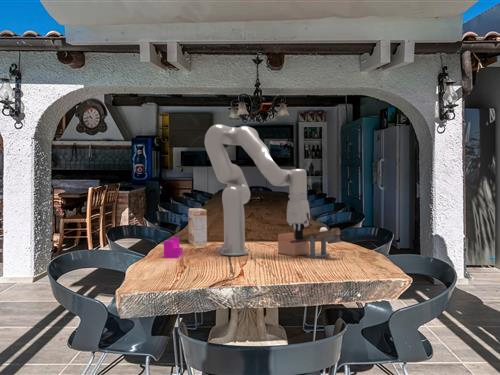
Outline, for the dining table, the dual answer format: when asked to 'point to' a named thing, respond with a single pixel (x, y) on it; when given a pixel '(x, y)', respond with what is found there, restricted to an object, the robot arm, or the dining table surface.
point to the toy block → (172, 248)
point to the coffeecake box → (197, 226)
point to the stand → (312, 249)
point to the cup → (292, 245)
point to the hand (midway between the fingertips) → (299, 239)
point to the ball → (323, 229)
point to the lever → (323, 236)
